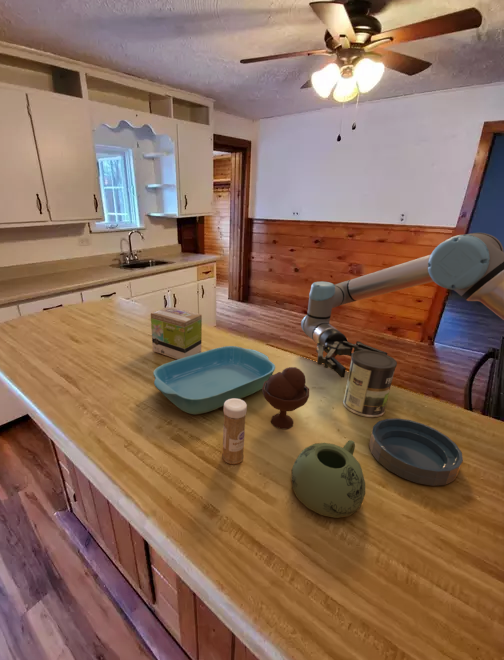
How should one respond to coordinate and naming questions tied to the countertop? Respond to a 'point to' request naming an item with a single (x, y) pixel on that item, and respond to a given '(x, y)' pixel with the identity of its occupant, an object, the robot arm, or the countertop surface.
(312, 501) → the green ceramic pot
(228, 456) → the sprinkles bottle
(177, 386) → the casserole dish
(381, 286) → the robot arm
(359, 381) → the coffee can
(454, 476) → the dark blue round tray
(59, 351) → the countertop surface
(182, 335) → the tea box
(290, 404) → the ice cream bowl
